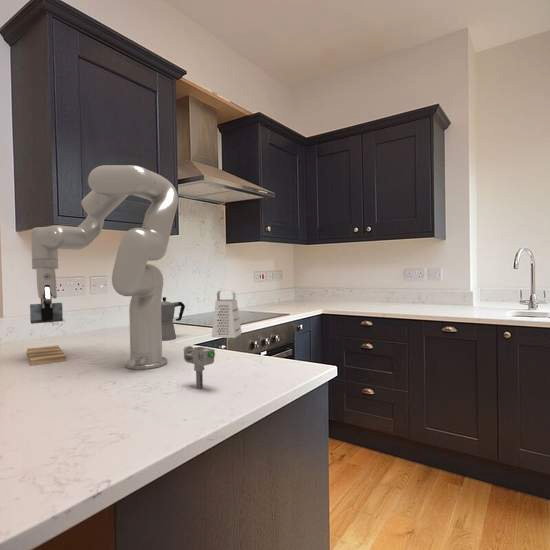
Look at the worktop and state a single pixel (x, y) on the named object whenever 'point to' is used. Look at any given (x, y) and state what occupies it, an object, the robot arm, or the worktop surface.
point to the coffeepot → (169, 318)
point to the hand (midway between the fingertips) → (46, 318)
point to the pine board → (45, 355)
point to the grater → (226, 318)
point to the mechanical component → (199, 361)
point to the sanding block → (37, 316)
